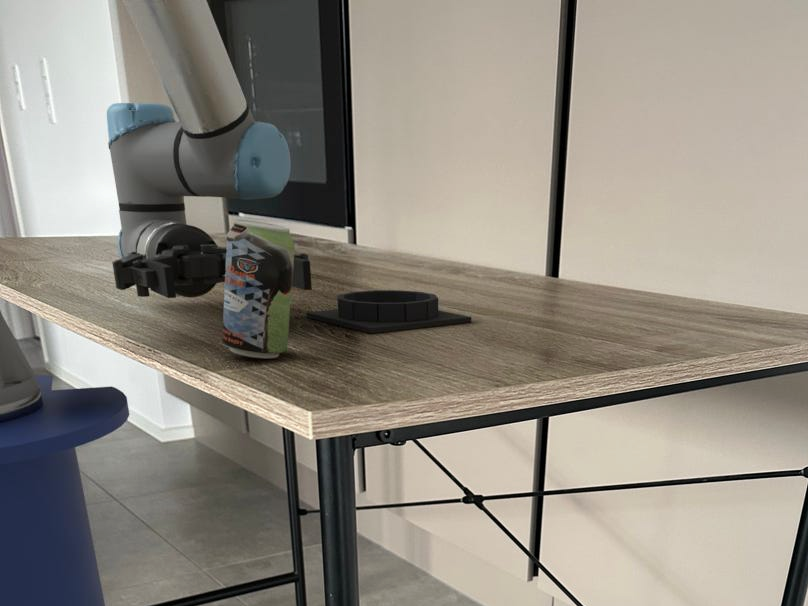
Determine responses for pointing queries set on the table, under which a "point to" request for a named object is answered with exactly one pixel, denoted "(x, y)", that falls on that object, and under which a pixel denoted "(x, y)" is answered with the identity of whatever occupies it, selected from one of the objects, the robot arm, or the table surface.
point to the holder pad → (388, 326)
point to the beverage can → (257, 289)
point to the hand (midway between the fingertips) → (241, 279)
